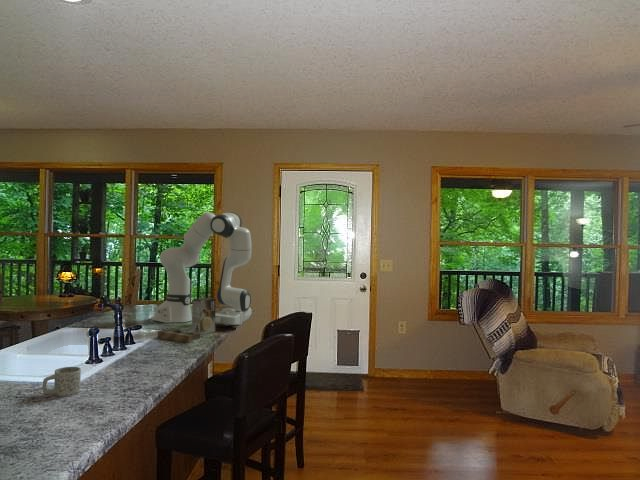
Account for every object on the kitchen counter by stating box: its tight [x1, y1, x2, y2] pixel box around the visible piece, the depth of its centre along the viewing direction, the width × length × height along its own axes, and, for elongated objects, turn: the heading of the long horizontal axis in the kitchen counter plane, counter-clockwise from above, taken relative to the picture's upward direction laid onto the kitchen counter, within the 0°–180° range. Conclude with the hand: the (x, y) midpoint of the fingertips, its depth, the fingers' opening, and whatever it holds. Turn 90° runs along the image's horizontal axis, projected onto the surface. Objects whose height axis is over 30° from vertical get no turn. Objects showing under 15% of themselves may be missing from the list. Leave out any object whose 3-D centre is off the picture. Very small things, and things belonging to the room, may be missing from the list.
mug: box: [42, 366, 82, 398], centre depth 136 cm, size 10×7×7 cm, turn 141°
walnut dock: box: [157, 330, 201, 344], centre depth 211 cm, size 18×10×3 cm, turn 64°
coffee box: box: [191, 297, 217, 336], centre depth 225 cm, size 9×6×16 cm
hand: (210, 320), depth 229 cm, fingers closed
